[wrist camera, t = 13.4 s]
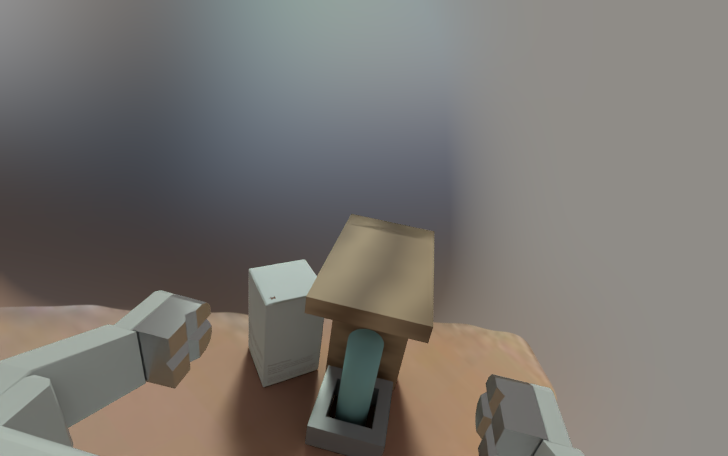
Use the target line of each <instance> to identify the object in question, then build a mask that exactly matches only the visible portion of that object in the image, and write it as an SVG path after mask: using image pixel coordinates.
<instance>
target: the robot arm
mask: <svg viewBox="0 0 728 456" xmlns="http://www.w3.org/2000/svg"><path fill="white" fill-rule="evenodd" d="M210 314H211V311H210V305H209V304H208V303H206V302H202V301H198V300H195V299H191V298H188V297H184V296H181V295H177V294H172V293H168V292H165V291H161V290H160V291H156V292H154V293H153V294H151V295H150V296H149V297H148V298H146V299H145V300H144V301H143V302H142V303H141V304H139V305H138V306H137V307H136V308H134V309H133V310H132V311H131V312H129V313H128V314H127V315H126V316H124V317H123V318H122V319H121V320H120V321H118V322H117V323H116V324H115V325H109V324H108V325H105V326H102V327H99V328H96V329H93V330H90V331H87V332H84V333H81V334H78V335H75V336H72V337H69V338H66V339H63V340H60V341H57V342H55V343H52V344H49V345H46V346H43V347H40V348H37V349H34V350H31V351H28V352H25V353H22V354H19V355H16V356H13V357H10V358H7V359H4V360H1V361H0V456H98V455H95V454H92V453H89V452H85V451H82V450H79V449H76V448H73V441H72V438H71V436H70V433H69V430H68V428H69V427H71V426H72V425H74V424H76V423H77V422H79V421H81V420H83V419H84V418H86V417H88V416H90V415H91V414H93V413H95V412H97V411H98V410H100V409H102V408H104V407H105V406H107V405H109V404H110V403H112V402H114V401H116V400H117V399H119V398H121V397H123V396H124V395H126V394H128V393H130V392H131V391H133V390H135V389H137V388H138V387H140V386H142V385H143V384H145V383H146V382H150V383H154V384H159V385H163V386H167V387H171V388H176V387H177V385H178V384H179V383H180V382H181V380H182V379H183V378H184V377H185V375H186V374H187V373H188V372H189V370H190V362H191V361H193V360H195V359H197V358H200V357H201V355H202V354H203V353H204V351H205V350H206V348H207V346H208V344H209V342H210V339H211V333H212V326H211V324H210V323H209V321H208V320H207V318H208V316H209V315H210ZM486 389H487V392H486V393H484V394H482V395H481V396H480V398H479V401H478V403H477V409H476V432H477V433H478V435H479V436H480V437H481V439H482V441H481V443H480V445H479V447H478V452H479V456H585V455H584V454H583V453H582V452H581V451H580V450H579V449H576V448H573V447H572V444H571V441H570V438H569V435H568V433H567V430H566V427H565V424H564V422H563V419H562V416H561V413H560V410H559V408H558V405H557V402H556V399H555V396H554V393H553V391H552V390H551V389H550V388H547V387H543V386H539V385H535V384H529V383H526V382H522V381H518V380H514V379H509V378H505V377H501V376H497V375H493V374H492V375H491V376H490V377H489V378H488V380H487V382H486Z"/></svg>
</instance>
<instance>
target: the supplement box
mask: <svg viewBox="0 0 728 456" xmlns="http://www.w3.org/2000/svg"><path fill="white" fill-rule="evenodd" d="M316 278H317V276H316V275H315V273H314V272H313V271H312V269H311V268H310V266H309V265H308V263H307V262H306V260H299V261H293V262H286V263H280V264H274V265H269V266H263V267H258V268H250V269H249V349H250V352H251V355H252V358H253V361H254V364H255V366H256V369H257V372H258V375H259V377H260V380H261V383H262V386H263V387H266V386H269V385H272V384H275V383H278V382H281V381H284V380H287V379H290V378H294V377H297V376H300V375H303V374H306V373H309V372H312V371H314V370H317V369H318V365H319V357H320V348H321V339H322V331H323V322H324V318H323V317H319V316H314V315H310V314H306V313H305V304H306V296H307V294H308V292H309V290H310V289H311V287H312V285H313V283H314V281H315V279H316Z"/></svg>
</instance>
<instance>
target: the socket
mask: <svg viewBox="0 0 728 456" xmlns="http://www.w3.org/2000/svg"><path fill="white" fill-rule="evenodd" d="M342 371H343V369H342V368H338V367H334V366H330V365H328V368H327V371H326V374H325V377H324V379H323V382H322V385H321V388H320V391H319V394H318V397H317V399H316V402H315V405H314V408H313V411H312V414H311V416H310V419H309V422H308V425H307V432H306V440H305V444H308V445H311V446H315V447H318V448H322V449H325V450H329V451H332V452H336V453H339V454H343V455H347V456H382V455H383V451H384V448H385V441H386V434H387V426H388V419H389V411H390V404H391V396H392V389H393V382H392V381H388V380H384V379H380V378H376V382H375V386H374V391H373V395H372V399H371V403H370V405H373V406H375V410H374V415H373V421H372V427H371V429H370V428H367V427H363V426H359V425H356V424H352V423H348V422H345V421H341V420H337V419H334V418H330V417H328V416H329V412H330V409H331V406H332V403H333V399H334V396H338V395H339V389H340V383H341V377H342Z"/></svg>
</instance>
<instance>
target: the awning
mask: <svg viewBox="0 0 728 456" xmlns="http://www.w3.org/2000/svg"><path fill="white" fill-rule="evenodd" d="M433 287H434V231H429V230H424V229H420V228H414V227H410V226H406V225H401V224H396V223H391V222H387V221H382V220H377V219H372V218H368V217H363V216H359V215H354V214H351V216H350V218H349V219H348V221H347V223H346V225H345V227H344V228H343V230H342V232H341V234H340V236H339V237H338V239H337V241H336V243H335V245H334V247H333V248H332V250H331V252H330V254H329V256H328V258H327V260H326V261H325V263H324V265H323V267H322V269H321V270H320V272H319V274H318V276H317V278H316V279H315V281H314V283H313V285H312V287H311V289H310V290H309V292H308V294H307V296H306V304H305V313H306V314H310V315H314V316H319V317H323V318H327V319H331V320H333V322H332V329H331V336H330V344H329V351H328V358H327V365H326V371H327V368H328V365H330V366H334V367H338V368H342V369H343V365H344V359H345V353H346V347H347V341H348V337H349V335H350V334H351V333H352V332H353V331H355V330H357V329H369V330H372V331H375V332H376V333H378V334H379V335H380V336H381V337H382V339H383V341H384V347H383V352H382V356H381V360H380V365H379V369H378V373H377V378H380V379H384V380H388V381H392V382H393V389H395V385H396V381H397V378H398V374H399V370H400V366H401V363H402V359H403V355H404V352H405V348H406V344H407V341H408V338H409V339H413V340H417V341H421V342H425V343H428V342H429V338H430V335H431V332H432V329H433Z"/></svg>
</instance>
